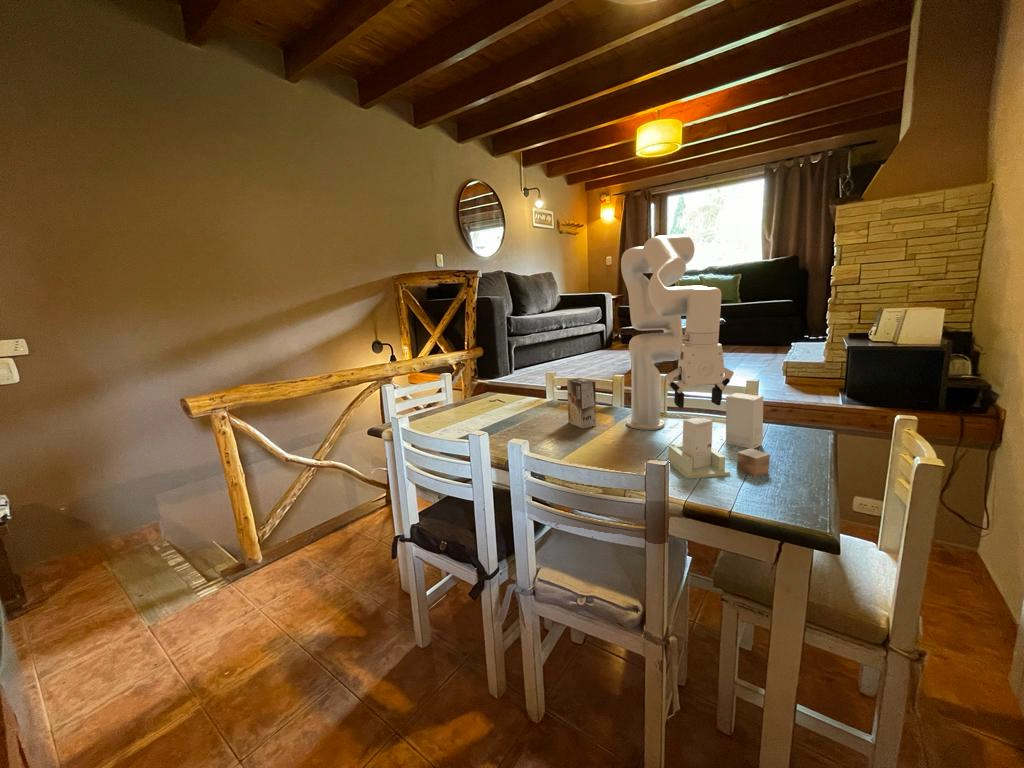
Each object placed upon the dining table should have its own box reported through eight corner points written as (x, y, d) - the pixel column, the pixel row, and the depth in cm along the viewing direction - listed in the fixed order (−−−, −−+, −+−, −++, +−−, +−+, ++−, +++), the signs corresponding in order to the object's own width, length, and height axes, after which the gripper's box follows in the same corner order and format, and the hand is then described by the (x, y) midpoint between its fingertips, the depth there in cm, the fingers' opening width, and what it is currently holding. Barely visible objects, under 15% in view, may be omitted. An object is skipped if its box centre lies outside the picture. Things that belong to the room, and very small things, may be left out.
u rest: (666, 460, 116) (666, 445, 115) (704, 457, 117) (705, 442, 116) (687, 478, 104) (687, 462, 103) (729, 475, 105) (730, 458, 104)
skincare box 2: (762, 445, 123) (766, 396, 120) (751, 450, 120) (755, 399, 116) (734, 438, 130) (737, 391, 127) (723, 442, 126) (725, 394, 123)
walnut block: (736, 470, 108) (737, 452, 107) (749, 466, 110) (750, 448, 109) (754, 477, 103) (756, 458, 102) (768, 473, 105) (769, 454, 104)
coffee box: (597, 425, 149) (596, 381, 145) (582, 429, 146) (581, 384, 142) (581, 419, 157) (580, 377, 153) (567, 422, 154) (566, 379, 150)
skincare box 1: (693, 469, 107) (695, 424, 105) (680, 463, 111) (682, 419, 109) (712, 465, 109) (714, 420, 107) (698, 459, 114) (700, 416, 111)
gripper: (674, 343, 99) (671, 412, 104) (744, 338, 101) (738, 407, 105) (660, 338, 107) (658, 403, 111) (726, 334, 108) (721, 398, 112)
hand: (697, 405), depth 108 cm, fingers open, 9 cm apart
